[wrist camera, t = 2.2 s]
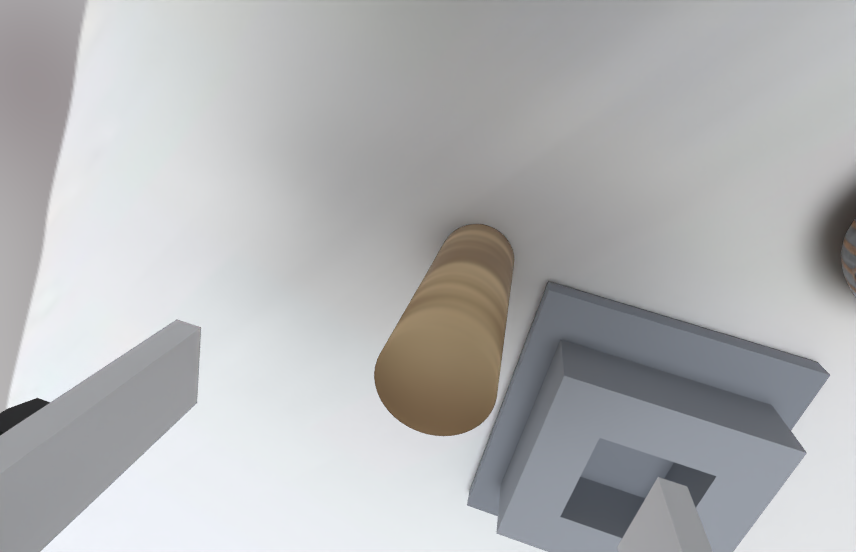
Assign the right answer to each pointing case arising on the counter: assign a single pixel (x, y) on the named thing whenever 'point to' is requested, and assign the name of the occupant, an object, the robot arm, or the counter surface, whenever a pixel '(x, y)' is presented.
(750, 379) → the socket
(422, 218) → the counter surface
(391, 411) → the peg
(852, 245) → the vase
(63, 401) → the robot arm
